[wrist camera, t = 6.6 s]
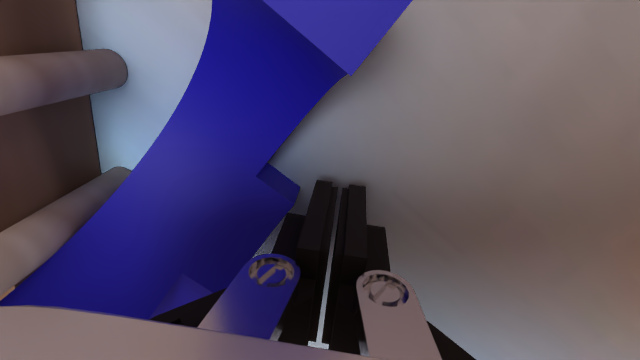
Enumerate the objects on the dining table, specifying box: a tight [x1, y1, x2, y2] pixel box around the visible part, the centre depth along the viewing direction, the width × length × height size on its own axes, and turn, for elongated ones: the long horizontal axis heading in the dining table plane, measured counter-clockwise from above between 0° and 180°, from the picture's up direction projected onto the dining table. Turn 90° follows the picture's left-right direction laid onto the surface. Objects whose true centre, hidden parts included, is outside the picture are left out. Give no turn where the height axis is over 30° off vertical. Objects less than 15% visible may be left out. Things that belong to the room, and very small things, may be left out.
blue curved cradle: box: [0, 0, 412, 320], centre depth 9 cm, size 12×4×6 cm, turn 141°
